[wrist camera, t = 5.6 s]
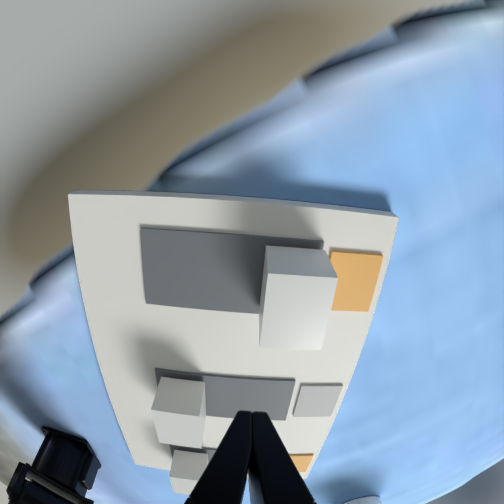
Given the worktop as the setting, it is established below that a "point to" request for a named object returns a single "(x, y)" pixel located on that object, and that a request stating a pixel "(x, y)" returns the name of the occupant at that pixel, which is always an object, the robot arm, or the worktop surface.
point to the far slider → (186, 470)
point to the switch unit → (220, 308)
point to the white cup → (365, 500)
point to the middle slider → (180, 412)
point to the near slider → (295, 298)
